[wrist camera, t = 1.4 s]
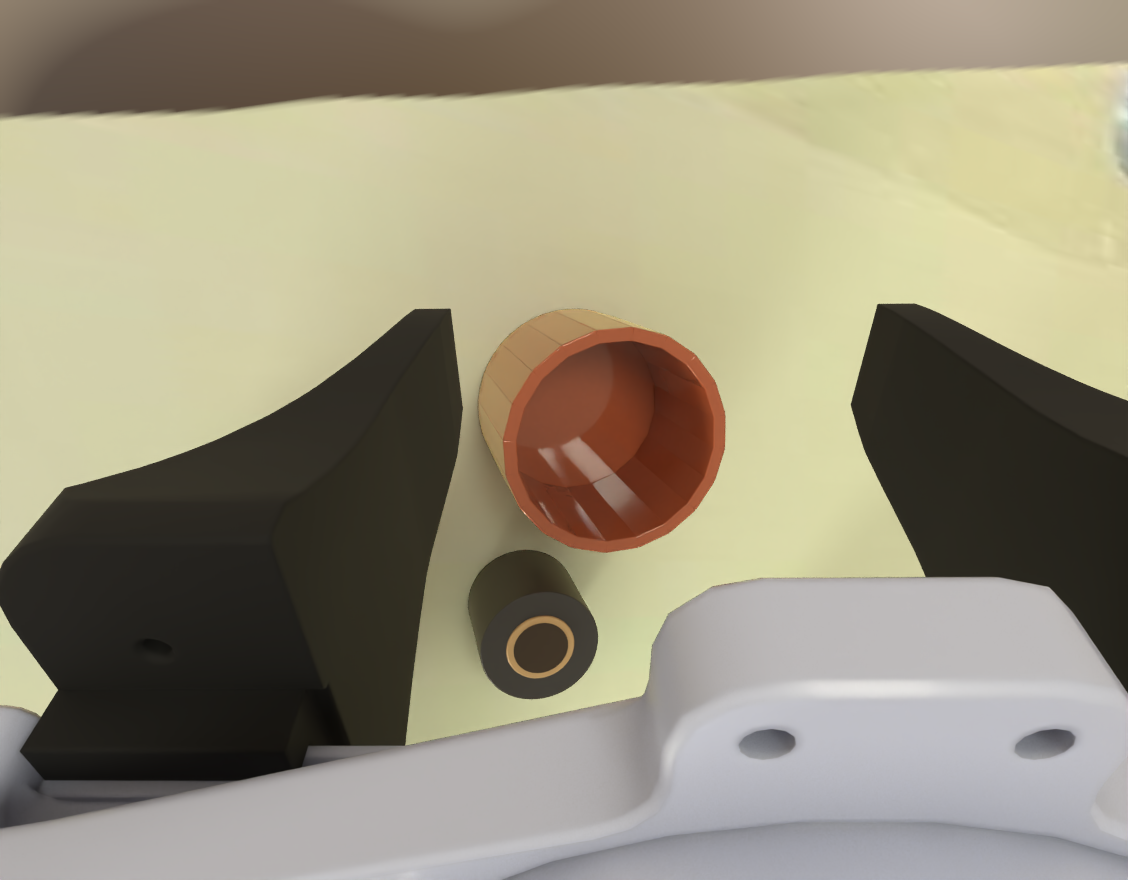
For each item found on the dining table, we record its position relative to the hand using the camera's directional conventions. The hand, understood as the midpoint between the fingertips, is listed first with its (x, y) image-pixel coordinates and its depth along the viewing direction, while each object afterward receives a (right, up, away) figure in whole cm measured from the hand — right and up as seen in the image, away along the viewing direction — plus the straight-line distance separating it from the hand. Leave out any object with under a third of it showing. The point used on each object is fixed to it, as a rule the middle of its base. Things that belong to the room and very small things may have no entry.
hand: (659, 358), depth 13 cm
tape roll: (-4, -9, +23) cm, 25 cm away
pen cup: (-1, 0, +21) cm, 21 cm away
